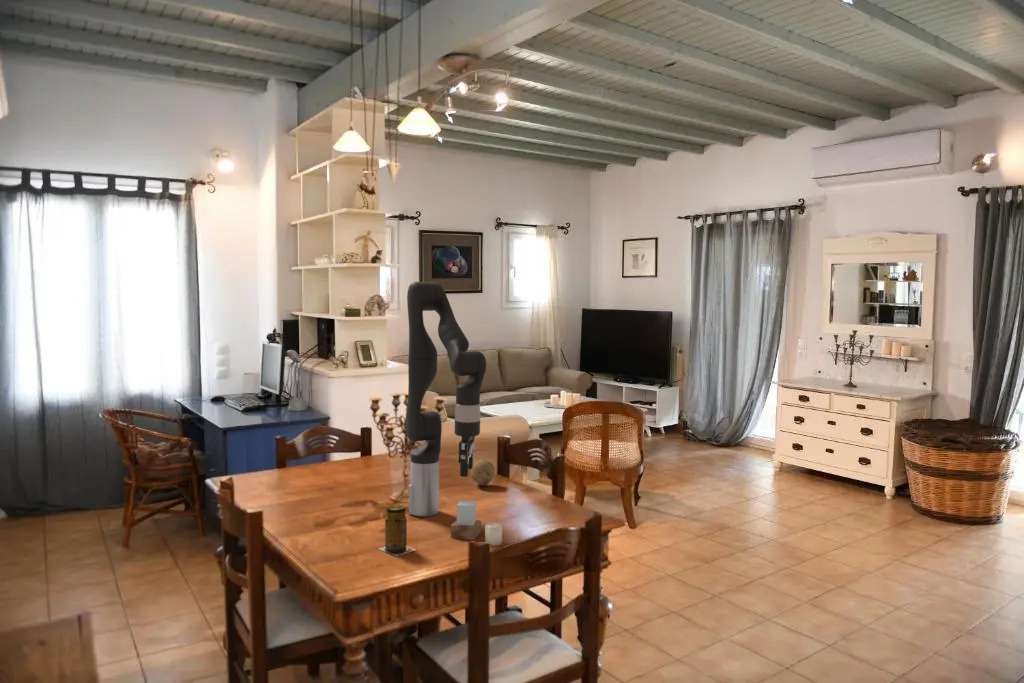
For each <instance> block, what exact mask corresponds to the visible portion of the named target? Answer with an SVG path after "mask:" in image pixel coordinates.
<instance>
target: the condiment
mask: <svg viewBox="0 0 1024 683" xmlns="http://www.w3.org/2000/svg"><path fill="white" fill-rule="evenodd" d="M407 521H408V519H407V516H406V506H404V505H398V504H396V505H390V506H387V508H386V516H385V519H384V546H382V547H379V548H377V549H378V550H379V551H382V552H384V553H387V554H390V555H392V556H395V557H398V556H402V555H406V554H410V553H411V552H412V551H413V552H414V551H417V549H416V548H413V547H411V546H408V547H407V548H408V549H409V550H408V551H407V550H406V546H407V541H408V540H407V539H408V538H407V535H408V533H407V530H408V527H407V526H408V523H407ZM405 550H406V551H405ZM405 552H406V554H405ZM409 552H410V553H409ZM413 552H412V553H413Z"/></svg>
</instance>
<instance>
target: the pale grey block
mask: <svg viewBox="0 0 1024 683" xmlns="http://www.w3.org/2000/svg"><path fill="white" fill-rule="evenodd" d="M476 520H477V500H464V499H460V500H459V501H458V502H457V504H456V521H457V525H468V526H474V524H475V522H476Z"/></svg>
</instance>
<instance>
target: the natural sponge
mask: <svg viewBox="0 0 1024 683" xmlns="http://www.w3.org/2000/svg"><path fill="white" fill-rule="evenodd" d="M495 471H496V470H495V465H493V463H492V462H491V461H490V460H486V459H479V460H477V461H476V462H475V463H473V468H472V469H470V476H471V479H472V480H473V481H474V482H476V483H477V484H478V485H479V486H481V487H486V486H487V485H489V483H490V482H491V481H492V480H493V479H494V476H495Z"/></svg>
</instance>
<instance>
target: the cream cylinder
mask: <svg viewBox="0 0 1024 683" xmlns="http://www.w3.org/2000/svg"><path fill="white" fill-rule="evenodd" d="M485 542H490V543H491V545H490V546H500V545H501V544H503V524H501V523H497V522H490V523H486V524H485V525H484V543H485Z"/></svg>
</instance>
